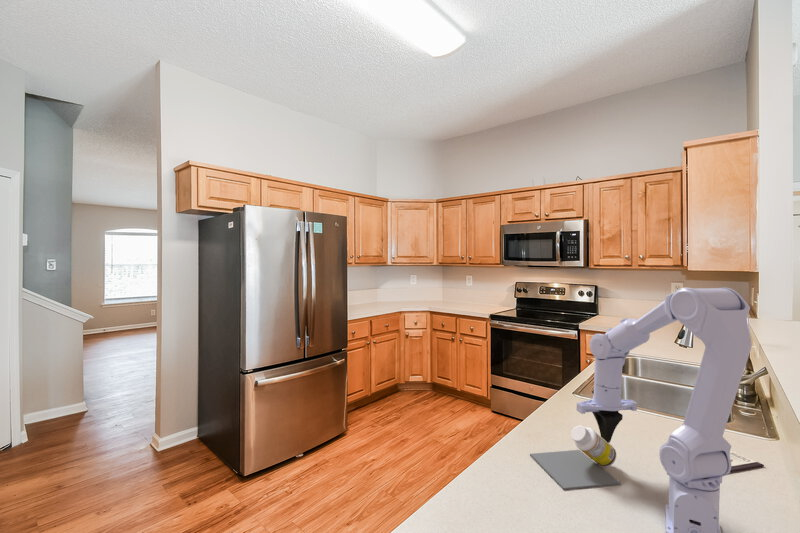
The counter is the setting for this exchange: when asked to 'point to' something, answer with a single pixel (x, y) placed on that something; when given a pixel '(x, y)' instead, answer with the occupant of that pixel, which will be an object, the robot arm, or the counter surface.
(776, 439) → the counter surface
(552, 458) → the mat
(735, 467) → the chocolate bar
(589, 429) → the supplement bottle
